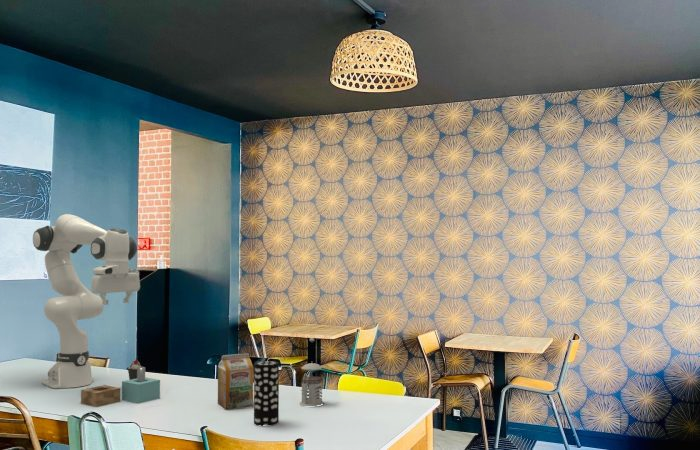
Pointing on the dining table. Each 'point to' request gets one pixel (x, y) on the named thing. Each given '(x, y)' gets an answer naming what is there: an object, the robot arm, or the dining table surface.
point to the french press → (311, 386)
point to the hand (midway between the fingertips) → (115, 303)
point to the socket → (100, 395)
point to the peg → (140, 374)
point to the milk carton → (235, 381)
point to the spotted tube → (266, 393)
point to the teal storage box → (140, 390)
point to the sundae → (133, 369)
